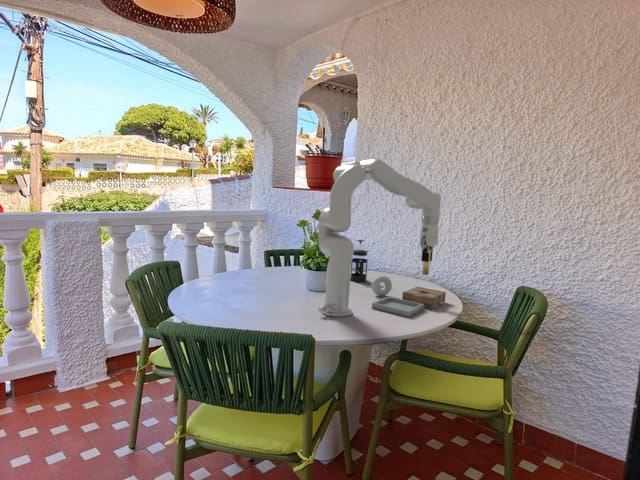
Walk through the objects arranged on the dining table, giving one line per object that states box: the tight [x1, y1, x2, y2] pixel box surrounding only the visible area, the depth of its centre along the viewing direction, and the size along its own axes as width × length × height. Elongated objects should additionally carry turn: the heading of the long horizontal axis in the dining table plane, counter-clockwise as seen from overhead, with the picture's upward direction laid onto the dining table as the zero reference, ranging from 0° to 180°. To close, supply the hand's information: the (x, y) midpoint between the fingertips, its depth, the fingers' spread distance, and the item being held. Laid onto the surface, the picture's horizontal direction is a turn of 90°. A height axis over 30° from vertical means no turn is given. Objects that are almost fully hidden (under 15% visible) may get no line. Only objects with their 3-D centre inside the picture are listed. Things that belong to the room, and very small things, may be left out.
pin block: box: [401, 286, 447, 310], centre depth 177 cm, size 16×14×5 cm
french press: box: [350, 239, 369, 283], centre depth 215 cm, size 12×9×23 cm
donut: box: [371, 275, 393, 297], centre depth 186 cm, size 10×4×10 cm, turn 99°
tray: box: [371, 296, 425, 319], centre depth 166 cm, size 15×17×2 cm
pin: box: [421, 248, 431, 276], centre depth 175 cm, size 3×3×12 cm
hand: (426, 260), depth 175 cm, fingers closed on pin, 3 cm apart
